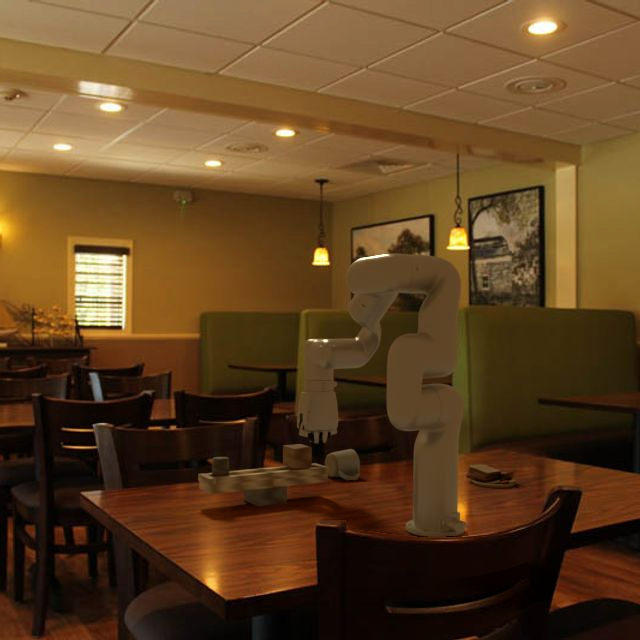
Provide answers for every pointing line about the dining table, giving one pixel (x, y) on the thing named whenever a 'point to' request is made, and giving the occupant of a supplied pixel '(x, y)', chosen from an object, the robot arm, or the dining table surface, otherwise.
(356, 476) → the ceramic mug
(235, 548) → the dining table surface
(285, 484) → the beam
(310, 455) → the block
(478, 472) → the toy sandwich meal
